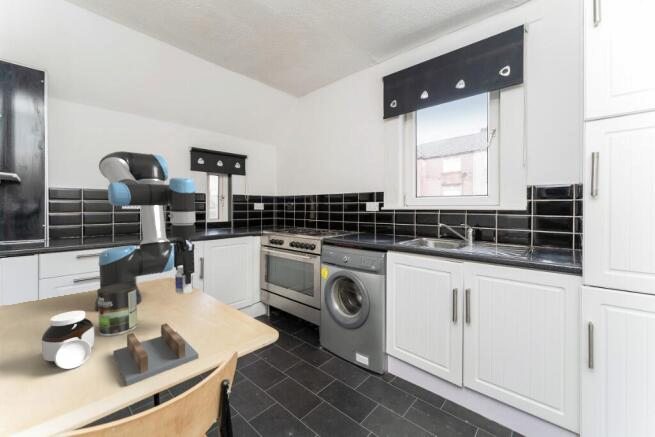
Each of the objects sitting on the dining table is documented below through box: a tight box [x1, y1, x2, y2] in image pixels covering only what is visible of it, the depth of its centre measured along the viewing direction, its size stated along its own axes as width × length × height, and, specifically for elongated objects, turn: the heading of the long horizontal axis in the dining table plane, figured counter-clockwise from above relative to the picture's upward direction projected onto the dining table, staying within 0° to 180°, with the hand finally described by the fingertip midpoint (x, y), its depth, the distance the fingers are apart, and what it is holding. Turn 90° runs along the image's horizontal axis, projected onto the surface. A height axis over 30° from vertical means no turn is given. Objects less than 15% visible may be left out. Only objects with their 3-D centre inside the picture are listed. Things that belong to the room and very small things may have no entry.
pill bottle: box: [174, 265, 194, 295], centre depth 95 cm, size 5×5×9 cm
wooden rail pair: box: [126, 322, 185, 373], centre depth 75 cm, size 16×10×4 cm, turn 46°
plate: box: [112, 331, 199, 387], centre depth 75 cm, size 18×16×1 cm
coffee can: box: [96, 283, 138, 337], centre depth 91 cm, size 10×10×14 cm
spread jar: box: [41, 310, 95, 370], centre depth 73 cm, size 12×11×12 cm
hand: (184, 290), depth 95 cm, fingers closed on pill bottle, 5 cm apart
